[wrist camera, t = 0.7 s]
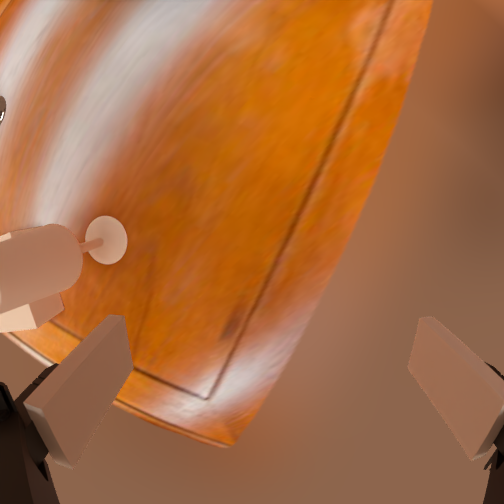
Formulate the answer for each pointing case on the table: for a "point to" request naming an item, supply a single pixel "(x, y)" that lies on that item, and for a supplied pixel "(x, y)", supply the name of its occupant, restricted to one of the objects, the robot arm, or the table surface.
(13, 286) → the champagne flute
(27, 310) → the riser
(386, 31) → the table surface
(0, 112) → the wine glass
